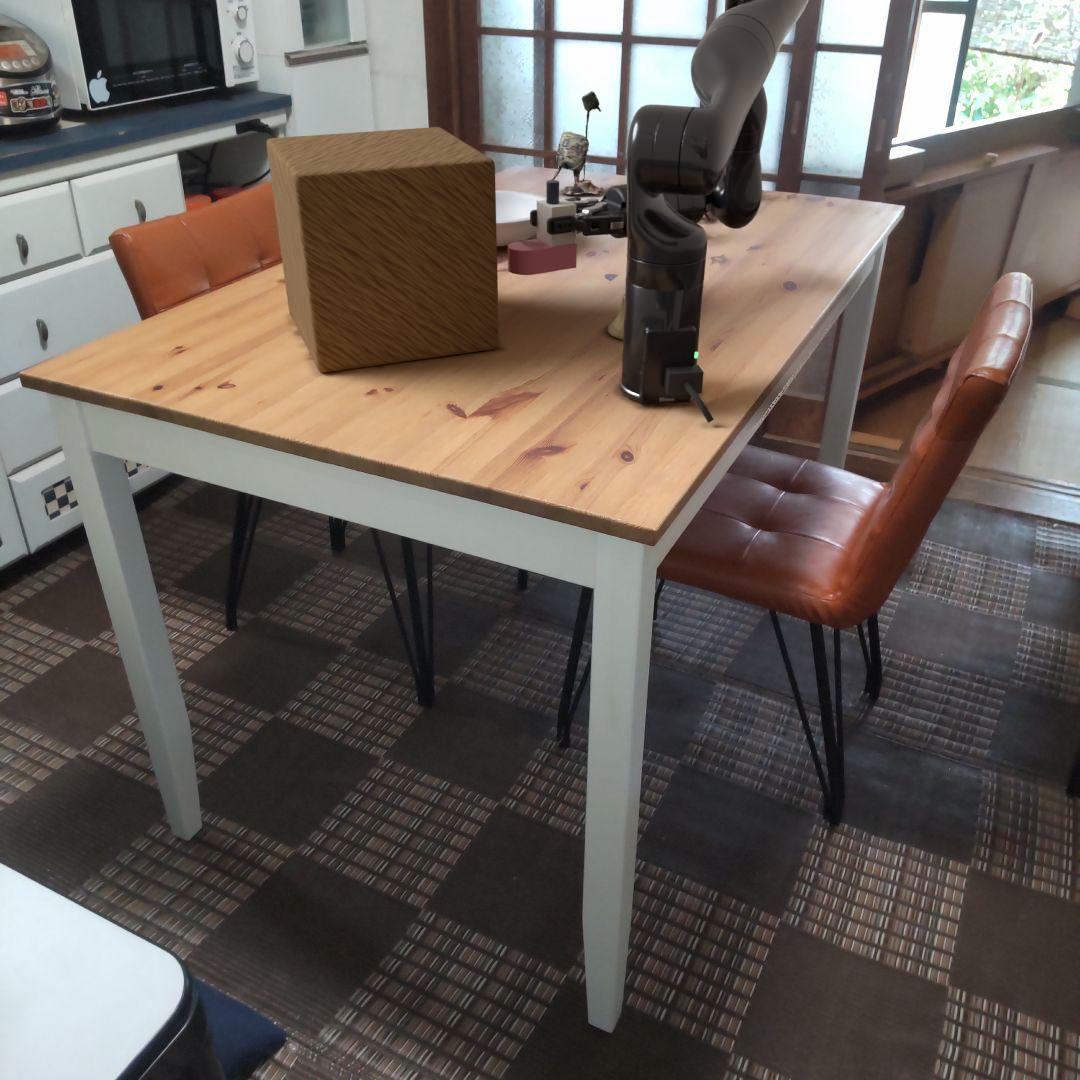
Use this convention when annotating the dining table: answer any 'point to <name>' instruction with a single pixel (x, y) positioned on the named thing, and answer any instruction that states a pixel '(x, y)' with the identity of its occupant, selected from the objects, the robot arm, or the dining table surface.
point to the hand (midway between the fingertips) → (540, 222)
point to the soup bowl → (515, 216)
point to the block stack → (546, 239)
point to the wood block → (387, 245)
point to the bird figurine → (577, 152)
